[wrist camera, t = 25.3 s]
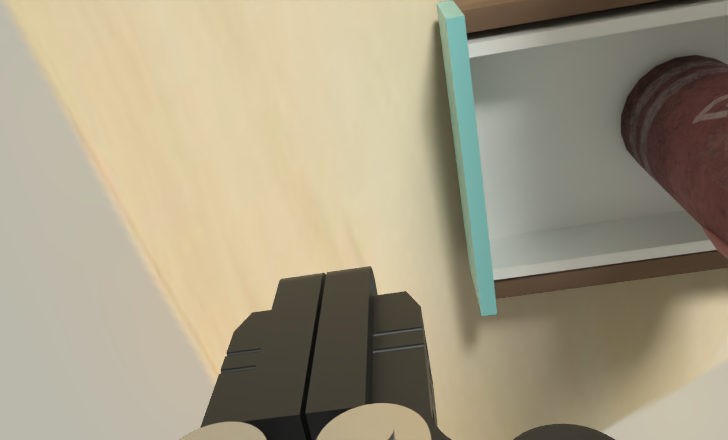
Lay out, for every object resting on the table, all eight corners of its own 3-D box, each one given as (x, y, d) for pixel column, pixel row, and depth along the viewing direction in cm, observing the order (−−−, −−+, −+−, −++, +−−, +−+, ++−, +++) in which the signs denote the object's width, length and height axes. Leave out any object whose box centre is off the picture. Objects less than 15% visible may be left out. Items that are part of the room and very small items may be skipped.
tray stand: (450, -3, 35) (460, 10, 31) (801, -64, 34) (866, -60, 29) (480, 255, 41) (493, 298, 37) (780, 213, 40) (832, 253, 35)
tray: (436, 2, 34) (445, 18, 29) (774, -56, 33) (843, -50, 28) (469, 266, 40) (481, 316, 35) (756, 226, 39) (811, 272, 34)
